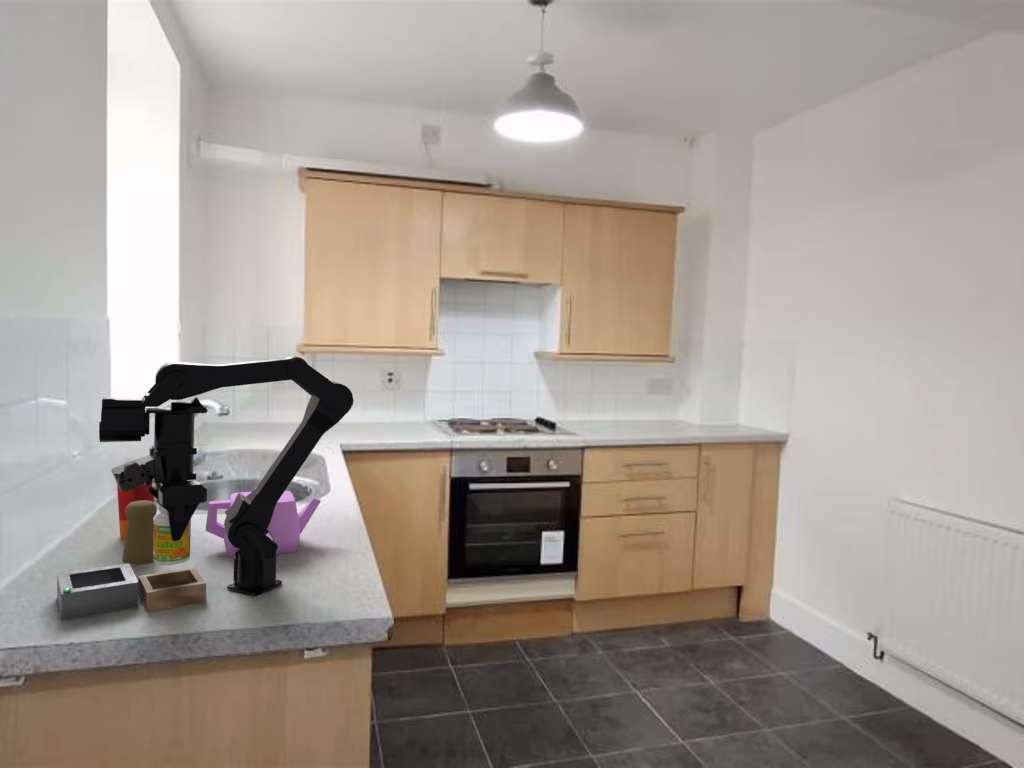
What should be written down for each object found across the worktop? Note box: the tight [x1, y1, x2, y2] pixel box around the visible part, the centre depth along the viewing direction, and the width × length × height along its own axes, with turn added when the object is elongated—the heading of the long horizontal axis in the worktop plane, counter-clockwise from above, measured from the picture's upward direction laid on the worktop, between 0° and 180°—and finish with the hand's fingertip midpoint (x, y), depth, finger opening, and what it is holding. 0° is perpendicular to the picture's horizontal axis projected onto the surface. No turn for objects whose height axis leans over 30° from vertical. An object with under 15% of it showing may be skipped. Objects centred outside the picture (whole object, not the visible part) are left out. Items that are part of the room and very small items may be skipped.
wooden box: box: [137, 567, 207, 613], centre depth 109 cm, size 8×8×3 cm
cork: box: [121, 500, 158, 565], centre depth 125 cm, size 6×6×11 cm
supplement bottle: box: [153, 504, 192, 566], centre depth 108 cm, size 5×5×10 cm
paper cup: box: [116, 481, 155, 540], centre depth 139 cm, size 8×8×14 cm
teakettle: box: [205, 486, 322, 558], centre depth 136 cm, size 17×17×12 cm
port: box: [56, 563, 139, 621], centre depth 105 cm, size 10×10×4 cm
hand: (172, 535), depth 108 cm, fingers closed on supplement bottle, 5 cm apart
